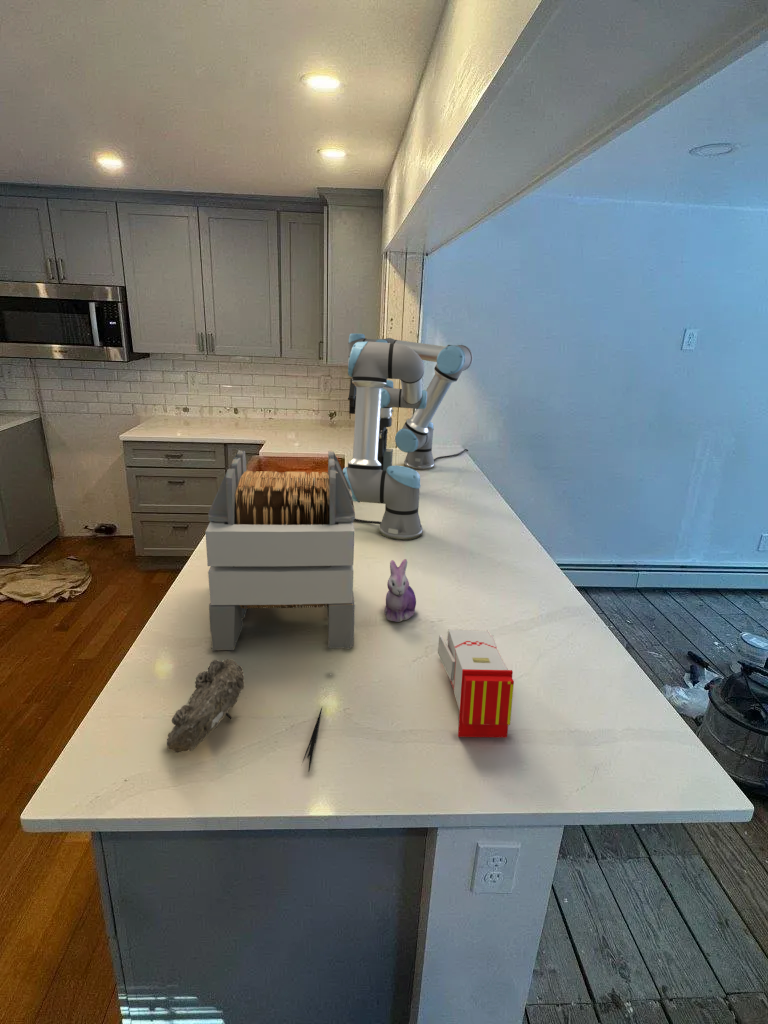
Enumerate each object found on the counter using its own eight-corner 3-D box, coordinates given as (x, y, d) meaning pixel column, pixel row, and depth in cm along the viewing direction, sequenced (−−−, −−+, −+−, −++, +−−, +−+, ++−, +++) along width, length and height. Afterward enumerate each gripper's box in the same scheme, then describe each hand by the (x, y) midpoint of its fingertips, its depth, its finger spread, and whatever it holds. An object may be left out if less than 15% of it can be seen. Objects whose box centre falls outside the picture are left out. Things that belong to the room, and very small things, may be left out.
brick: (390, 475, 247) (391, 451, 244) (369, 474, 248) (370, 450, 245) (391, 472, 252) (392, 449, 249) (371, 470, 253) (372, 447, 250)
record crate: (231, 583, 159) (223, 441, 145) (347, 582, 163) (350, 443, 149) (209, 653, 127) (196, 479, 114) (354, 649, 131) (359, 481, 117)
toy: (488, 613, 130) (523, 677, 101) (484, 667, 133) (517, 744, 104) (435, 612, 130) (455, 676, 101) (432, 666, 133) (451, 743, 103)
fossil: (192, 660, 117) (244, 628, 112) (224, 691, 120) (276, 661, 115) (142, 746, 98) (202, 712, 93) (182, 779, 101) (242, 748, 96)
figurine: (392, 627, 141) (395, 572, 136) (374, 608, 149) (376, 556, 144) (425, 619, 145) (429, 566, 140) (405, 601, 154) (408, 550, 149)
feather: (331, 679, 122) (336, 673, 122) (307, 777, 96) (313, 769, 95) (324, 675, 122) (329, 669, 121) (298, 772, 95) (304, 764, 95)
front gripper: (388, 421, 233) (386, 475, 241) (394, 413, 250) (392, 464, 258) (370, 419, 234) (368, 474, 242) (377, 412, 251) (375, 463, 259)
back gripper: (358, 370, 260) (357, 416, 267) (368, 365, 283) (366, 407, 291) (342, 369, 261) (341, 415, 268) (353, 364, 284) (352, 406, 292)
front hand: (380, 469), depth 250 cm, fingers closed on brick, 5 cm apart
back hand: (354, 411), depth 280 cm, fingers open, 13 cm apart
